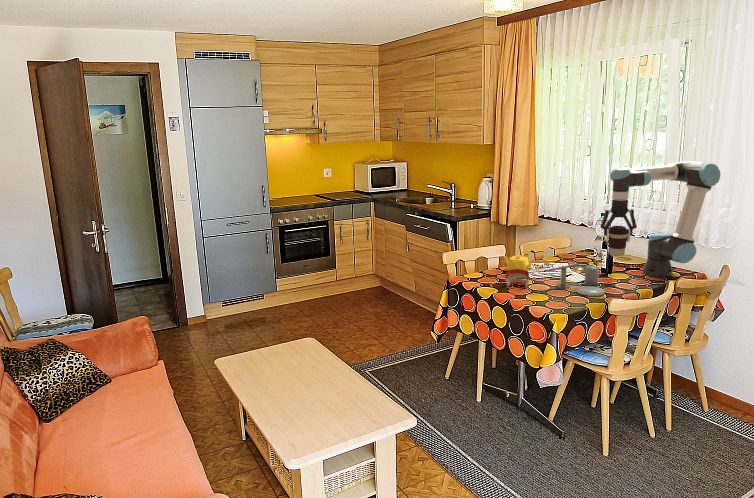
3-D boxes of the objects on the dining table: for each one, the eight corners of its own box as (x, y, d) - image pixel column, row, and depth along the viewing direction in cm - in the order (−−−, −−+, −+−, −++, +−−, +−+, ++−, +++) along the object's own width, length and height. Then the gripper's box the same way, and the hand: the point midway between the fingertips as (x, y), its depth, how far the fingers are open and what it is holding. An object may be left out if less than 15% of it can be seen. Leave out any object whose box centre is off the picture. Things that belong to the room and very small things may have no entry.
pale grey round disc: (600, 288, 297) (601, 286, 297) (607, 297, 284) (607, 294, 283) (573, 288, 299) (573, 286, 299) (578, 296, 286) (579, 294, 285)
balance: (581, 284, 304) (582, 261, 301) (583, 288, 298) (585, 264, 295) (542, 284, 307) (543, 261, 304) (544, 288, 301) (544, 264, 298)
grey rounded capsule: (596, 281, 309) (597, 265, 307) (599, 285, 302) (600, 269, 300) (583, 281, 310) (584, 265, 308) (585, 285, 303) (586, 269, 301)
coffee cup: (628, 257, 286) (630, 229, 282) (608, 257, 288) (610, 229, 284) (624, 252, 295) (626, 224, 291) (604, 252, 297) (606, 225, 293)
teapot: (535, 273, 328) (535, 257, 326) (513, 275, 325) (513, 259, 323) (523, 266, 342) (523, 251, 340) (501, 269, 339) (502, 254, 337)
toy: (530, 283, 311) (530, 269, 309) (528, 289, 301) (529, 275, 299) (507, 281, 315) (507, 268, 313) (505, 287, 305) (505, 273, 303)
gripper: (641, 197, 286) (638, 239, 291) (595, 198, 289) (593, 240, 295) (645, 199, 279) (642, 243, 284) (598, 200, 282) (596, 243, 288)
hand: (617, 241), depth 289 cm, fingers closed on coffee cup, 10 cm apart
